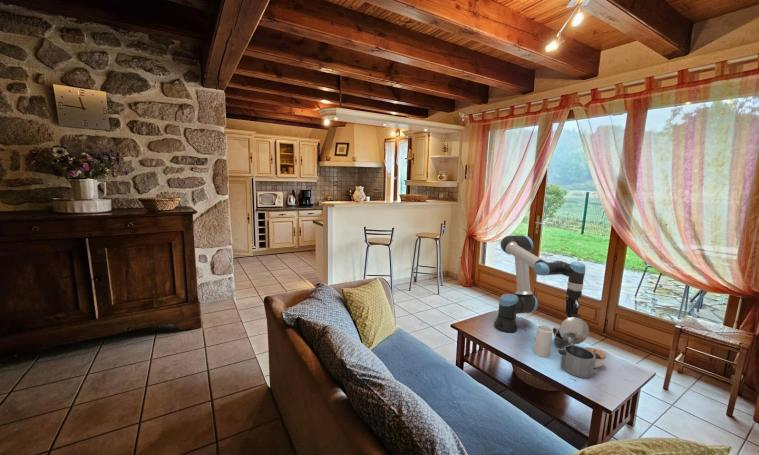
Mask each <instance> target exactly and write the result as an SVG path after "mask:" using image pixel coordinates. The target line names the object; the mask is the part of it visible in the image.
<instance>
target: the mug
mask: <svg viewBox="0 0 759 455" xmlns="http://www.w3.org/2000/svg"><path fill="white" fill-rule="evenodd" d="M559 328H560V327H557V326H555V327H553V328H552V330H553V333H552V334H553V335H554V340H553V341H554V344H555V345H556V346H557V347H559V348H562V349H563V348H564V346H566V345H569V344H570V343H568V342H566V341H565V340H564V339H563V338H562V337H561V335H560V332H559Z"/></svg>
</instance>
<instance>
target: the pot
mask: <svg viewBox="0 0 759 455" xmlns="http://www.w3.org/2000/svg"><path fill="white" fill-rule="evenodd" d="M557 353H558V354H559V355H560V356H561V362H560V367H561V369H562V371H565V372H566V373H567V374H568V375H571V376H573V377H575V378H580V379H591V378H593V375H594V369H595V368H594V364H595V358H596V359H601V357H600V356H599V355H598V354H595V353H593V352H591V351H589V350H587V349H586V347H583V346H579V345H576V344H569V345H566V346H564V348H562V349H557Z"/></svg>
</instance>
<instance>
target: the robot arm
mask: <svg viewBox="0 0 759 455" xmlns="http://www.w3.org/2000/svg"><path fill="white" fill-rule="evenodd" d="M500 248H501V250H502V252H504V253H505V254H507V255H509V256H510V255H511V256H513V257H514V264H515V276H516V277H515V279H516V291H515V292H514V294H513V293H504V294H502V295H501V296H500V297H499V301H498V312H497V317H496V318H495V320H494V324H493V328H495V329H496V330H498V331H500V332H503V333H507V334H514V333H517V332H518V323H517V314H530V313H534V312H535V311H536V310H537V309H538V305H539V302H538V299H537V297H536V296H535V295H534V293H533V292H532V291H531V282H530V280H531V279H530V268H532V270H533V272H534V273H535V275H537V276H542V277H543V276H544V277H545V276H557V275H559V276H561V275H562V276H565V277H568V279H567V280H568V281H567V283H566V284H567V288H566V292H565V295H567V296H565V314H566V316H567V317H566V319H567V318H569V317H570V313H574V314H579V313H578V312H579V310H580V307H581V304H579V298H582V296H583V294H582V293H583V288H584V279H585V275H586V264H584V263H583V262H579V261H578V262H577V261H571V262H570V263H568V262H565V261H563V260H557V259H555V260H554V261H551V262H550V261H548V262H547V261H545V260H544V259H542V258H541V257H539V256H536V255H535V254H533V253H531V252H532V251H533V249H534V242H533V240H532V239H531V237H529V236H527V235H506V236H505V237H503V238H502V240H501V241H500Z"/></svg>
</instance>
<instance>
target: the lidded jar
mask: <svg viewBox="0 0 759 455" xmlns="http://www.w3.org/2000/svg"><path fill="white" fill-rule="evenodd" d="M585 348H586V349H587V350H589V351H591V352H593V353H595V354H598V355H599V356H600V357H601V359H596V358H595V364H594V369H598V368H600V367H602V366H603V365H604V364H605V362H606V358H607V355H606V353H605V352H603V351H602V350H600V349H597V348H596V347H595V348H594V347H588V346H587V347H585Z"/></svg>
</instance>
